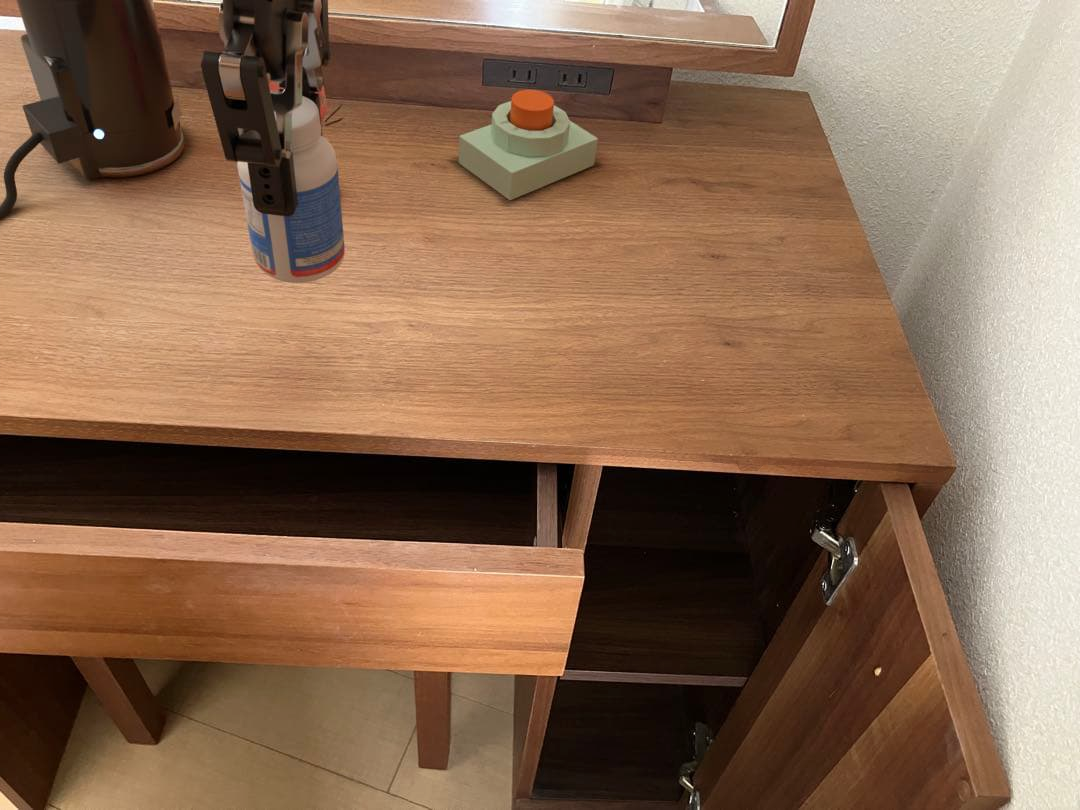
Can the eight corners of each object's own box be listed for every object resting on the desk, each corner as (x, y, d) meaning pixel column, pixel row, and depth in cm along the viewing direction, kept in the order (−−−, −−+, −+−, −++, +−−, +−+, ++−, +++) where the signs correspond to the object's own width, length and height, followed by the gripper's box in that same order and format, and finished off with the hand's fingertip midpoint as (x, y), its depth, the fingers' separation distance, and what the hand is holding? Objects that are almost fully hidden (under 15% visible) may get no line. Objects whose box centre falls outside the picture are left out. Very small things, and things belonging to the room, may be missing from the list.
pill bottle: (355, 238, 56) (346, 94, 49) (331, 292, 53) (319, 144, 46) (269, 225, 57) (248, 79, 49) (240, 278, 53) (213, 128, 46)
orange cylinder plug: (529, 137, 75) (531, 114, 73) (501, 118, 77) (502, 96, 75) (560, 125, 77) (563, 103, 75) (532, 107, 78) (534, 85, 77)
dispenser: (509, 200, 75) (513, 153, 72) (458, 163, 79) (459, 116, 76) (594, 165, 81) (601, 119, 77) (542, 131, 84) (547, 86, 81)
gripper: (215, -213, 43) (259, 109, 56) (96, -118, 33) (181, 249, 46) (371, -192, 44) (380, 125, 56) (298, -91, 34) (328, 267, 46)
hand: (290, 179), depth 51 cm, fingers closed on pill bottle, 5 cm apart
